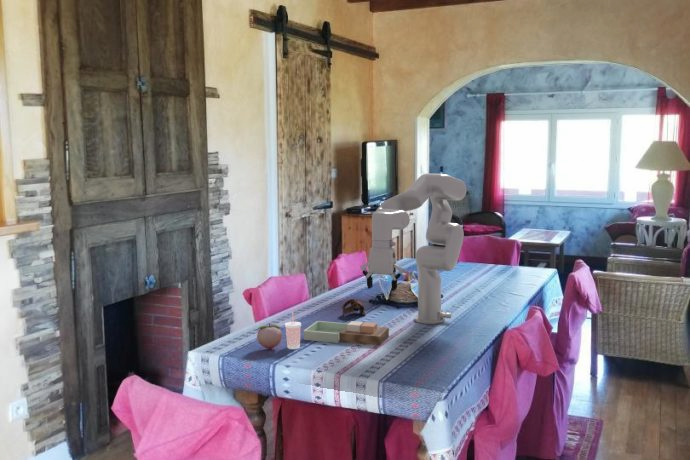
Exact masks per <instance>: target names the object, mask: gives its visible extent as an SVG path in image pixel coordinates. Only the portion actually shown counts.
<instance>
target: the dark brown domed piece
mask: <svg viewBox="0 0 690 460" xmlns="http://www.w3.org/2000/svg"><path fill="white" fill-rule="evenodd" d="M349 304H350V305H349ZM348 305H349V306H348ZM347 306H348V307H347ZM341 309H342V314H343V316H345V314H350V313H354V314H355V312H358V311H359V313H360V314H363V316H364V317H366V315H367V314H366V310H365V307H364V305H363V303H362V302H360V301H359V300H358V299H357V298H350V299H347V300H346V301H345V302H344V303H343V304H342V306H341Z"/></svg>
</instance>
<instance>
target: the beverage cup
mask: <svg viewBox="0 0 690 460" xmlns="http://www.w3.org/2000/svg"><path fill="white" fill-rule="evenodd" d="M291 316H292V318H291V321H287V322H285V323H284V326H285V327H284V328H285V334H286V336H285V337H286V343H287V344H286V346H287V349H289V350H297V349H300V348H301V327H302V322H300V321H294V310H293V309H292V310H291Z"/></svg>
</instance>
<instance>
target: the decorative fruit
mask: <svg viewBox="0 0 690 460" xmlns="http://www.w3.org/2000/svg"><path fill="white" fill-rule="evenodd" d="M282 329H283V327H281V325H279V324H272V325H271V323H270V322H269V323H268V325H261V326H259V327H258V328H257V329H256V331H257V335H256V340H257V342H258V344H260V346H262V347H263V348H265V349H268V350H272V349H274V348H275V347H276V348H277V347H278V345H280V343H281V341H282V339H283V332H282Z"/></svg>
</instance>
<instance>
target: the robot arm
mask: <svg viewBox="0 0 690 460" xmlns="http://www.w3.org/2000/svg"><path fill="white" fill-rule="evenodd" d="M467 192H468V191H467V186H466V183H465V182H464V180H462V179H459V178H457V177H454V176H451V175H450V174H444V173H423V174H422V175H420V176H419V177H418V178H417V179H416V180H414V182H413V183H412V184H411V185H410V186H409V187H408V188H407V189H406V190H405V191H403V192H401V193H399V194H397V195H394V196H391V197H390V198H388V199H386V200H385V201H383V203H381V205H380V206H378V207H377V209H376V210H375V211H374V212H373V213H372V214H371V247H370V249H369V254H368V261H367V262H366V263H364V264H362V265H360V270H361V272H362V274H363V275H364V276H365V278H366V287H367V289H368V290H370V289H372V288H373V286H374V285H373V278H374V277H372V276H373V275H379V276H383V275H384V276H390V278H391V279H392V280H391V291H392V292H394V291H396V290H397V289H398V280H399V279H400V278H401V277H402V275H403V273H404V271H405V269H404V267H402V266H400V265H398V264H397V258H396V251H395V248H394V247H395V246H396V242H395V241H393V230H399V231H402V230H405V229H406V228H408V226H409V224H410V220H411V218H410V215H409V214H408V213H407V212H408V211H410V212H411V211H413V210H416V209H419V208H421V207H422V206H423V205H424V204H425V203H426V201H427V200H430V203H431V215H430V218H429V221H428V225H427V228H426V233H425V239H426V241H427V242H428V243H430V244H433V245H422V246H420V247H419V248H417V250H416V252H415V263H416V268H417V310H418V311H417V315H416V316H414V319H413V320H414V321H415V322H416V323H419V324H424V325H436V324H437V325H438V324H441V323H444V322H445V321H446V319H452V313H450V312H444V308H442V278H441V275H440V272H439V271H444V272H451V271H453V270H454V269H455V268H456V266H457V263H458V260H459V256H460V254H461V251H462V247H463V243H464V238H465V237H464V236H465V233H464V229H463V227H462V226H461V225H460V224H459V223H456V222H455V223H454V222H451V221H452V217H453V210H452V208H451V206H450V204H449V201H461V200H463V199H464V198H465V197H466V195H467ZM435 245H440V246H435ZM366 268H367V269H366ZM397 271H398V272H397Z"/></svg>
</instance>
